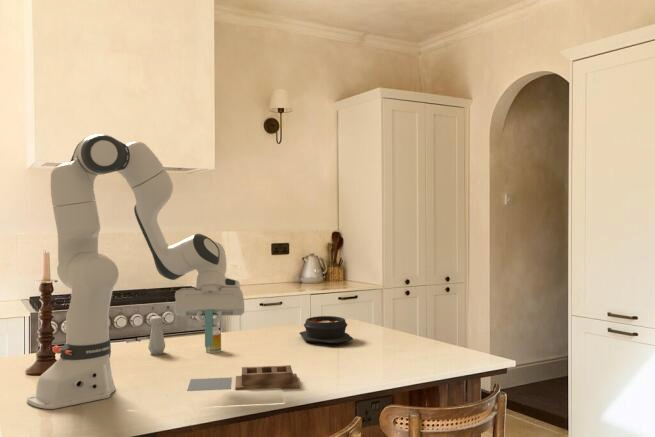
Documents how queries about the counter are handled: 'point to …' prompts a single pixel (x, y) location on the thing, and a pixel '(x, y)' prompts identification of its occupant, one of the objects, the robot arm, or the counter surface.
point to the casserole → (326, 330)
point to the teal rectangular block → (208, 328)
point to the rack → (267, 378)
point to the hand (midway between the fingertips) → (208, 326)
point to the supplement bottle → (215, 341)
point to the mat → (209, 384)
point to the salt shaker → (156, 336)
